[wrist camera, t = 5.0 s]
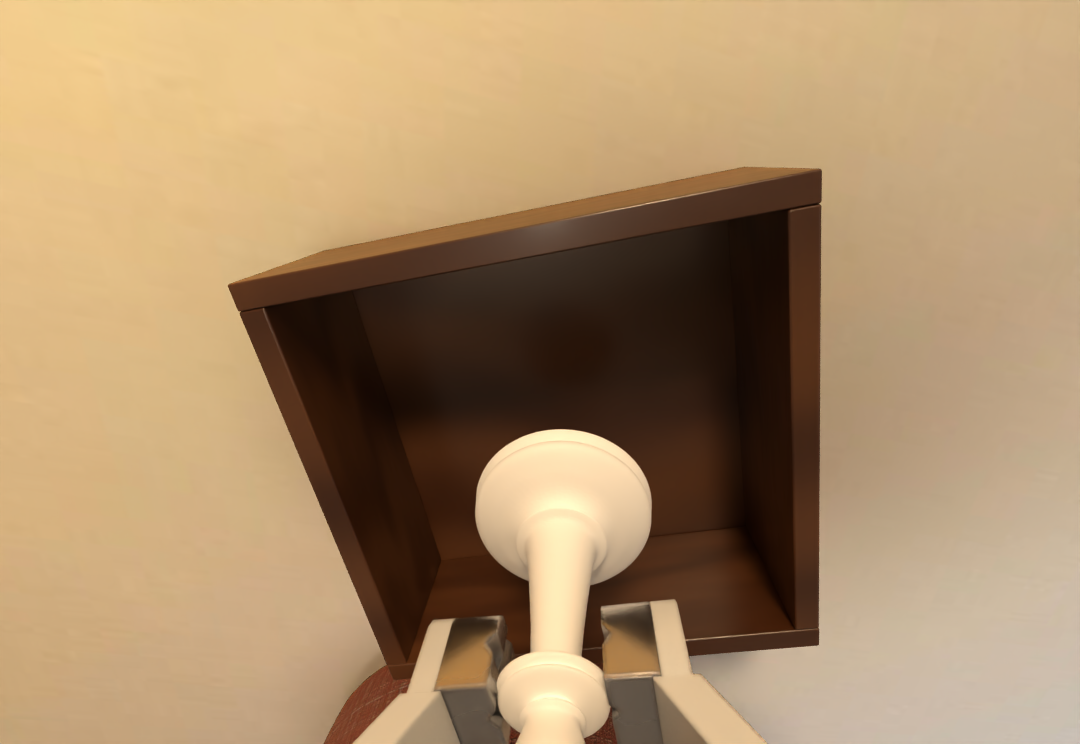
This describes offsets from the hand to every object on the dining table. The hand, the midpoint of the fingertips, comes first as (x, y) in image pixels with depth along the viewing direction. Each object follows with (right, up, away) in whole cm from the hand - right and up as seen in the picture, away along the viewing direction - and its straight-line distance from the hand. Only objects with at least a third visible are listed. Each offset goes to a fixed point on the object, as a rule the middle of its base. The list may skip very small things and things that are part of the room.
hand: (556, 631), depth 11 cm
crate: (+1, +4, +11) cm, 12 cm away
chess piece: (0, +2, +4) cm, 4 cm away
